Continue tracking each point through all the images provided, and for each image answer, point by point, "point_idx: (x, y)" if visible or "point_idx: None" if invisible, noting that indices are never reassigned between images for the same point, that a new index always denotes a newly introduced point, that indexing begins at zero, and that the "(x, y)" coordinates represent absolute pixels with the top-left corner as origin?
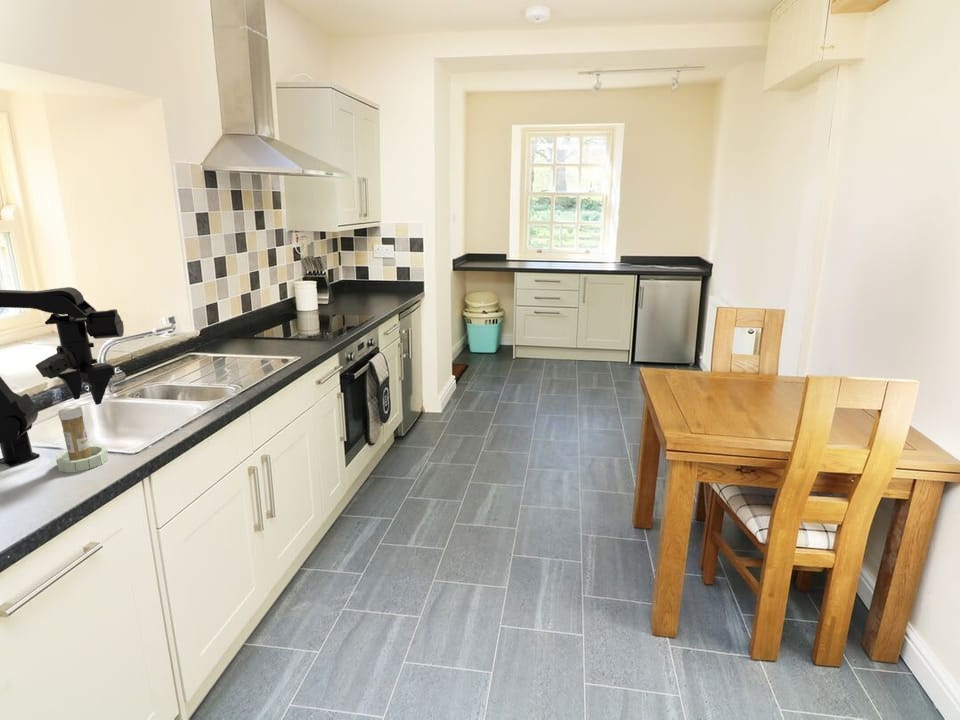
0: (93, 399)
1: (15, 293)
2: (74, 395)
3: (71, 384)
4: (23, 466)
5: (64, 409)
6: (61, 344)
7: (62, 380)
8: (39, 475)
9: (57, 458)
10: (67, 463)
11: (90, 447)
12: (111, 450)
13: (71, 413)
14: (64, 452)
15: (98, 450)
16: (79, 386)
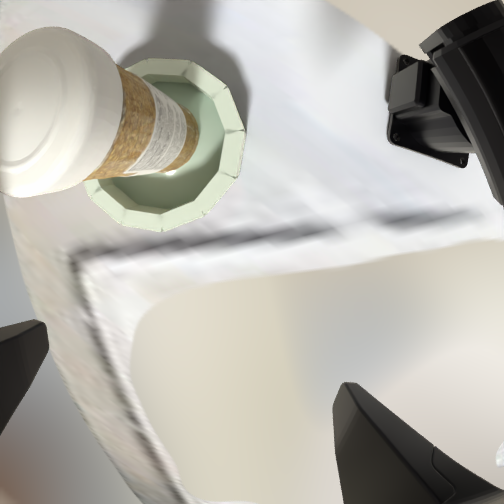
0: (17, 335)
1: None
2: (351, 406)
3: (392, 493)
4: (363, 66)
5: (54, 82)
6: None
7: (498, 488)
8: (227, 27)
9: (204, 73)
10: (131, 67)
11: (185, 204)
12: (171, 259)
13: None
14: (236, 124)
15: (156, 210)
16: (349, 496)
